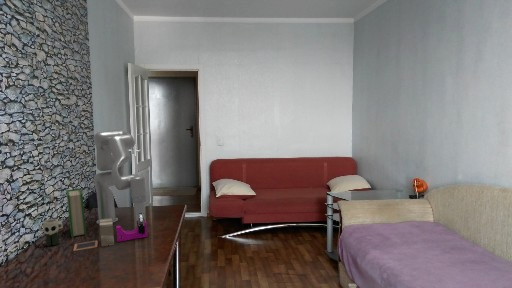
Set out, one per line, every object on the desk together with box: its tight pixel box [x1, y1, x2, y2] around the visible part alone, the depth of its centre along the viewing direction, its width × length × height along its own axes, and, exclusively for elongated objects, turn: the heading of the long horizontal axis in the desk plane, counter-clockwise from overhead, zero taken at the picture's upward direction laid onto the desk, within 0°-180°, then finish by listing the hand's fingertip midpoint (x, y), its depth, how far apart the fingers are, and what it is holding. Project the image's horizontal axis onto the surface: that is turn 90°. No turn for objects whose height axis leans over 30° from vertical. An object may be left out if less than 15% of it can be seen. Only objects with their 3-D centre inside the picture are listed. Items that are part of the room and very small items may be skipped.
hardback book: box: [66, 188, 87, 239], centre depth 208 cm, size 18×7×24 cm, turn 30°
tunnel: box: [99, 218, 115, 247], centre depth 189 cm, size 12×6×11 cm, turn 23°
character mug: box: [38, 218, 64, 247], centre depth 190 cm, size 11×7×13 cm, turn 111°
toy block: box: [115, 220, 148, 242], centre depth 194 cm, size 15×6×8 cm, turn 114°
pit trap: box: [72, 239, 99, 252], centre depth 185 cm, size 10×11×1 cm
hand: (141, 230), depth 196 cm, fingers closed on toy block, 6 cm apart
